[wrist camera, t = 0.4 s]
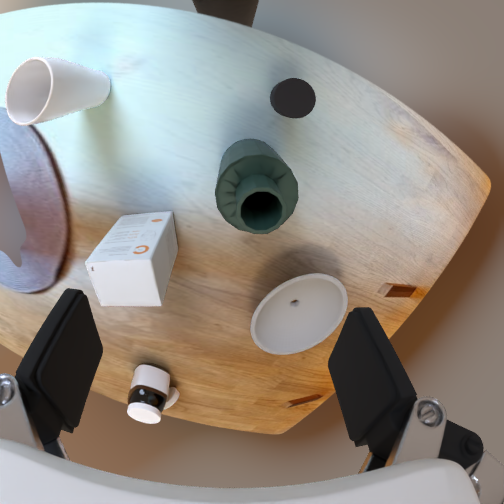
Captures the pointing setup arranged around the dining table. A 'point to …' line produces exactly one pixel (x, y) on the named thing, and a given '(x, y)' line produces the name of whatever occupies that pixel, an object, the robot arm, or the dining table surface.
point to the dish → (299, 314)
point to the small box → (134, 260)
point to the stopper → (293, 98)
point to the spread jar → (150, 393)
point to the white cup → (53, 90)
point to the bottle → (255, 187)
